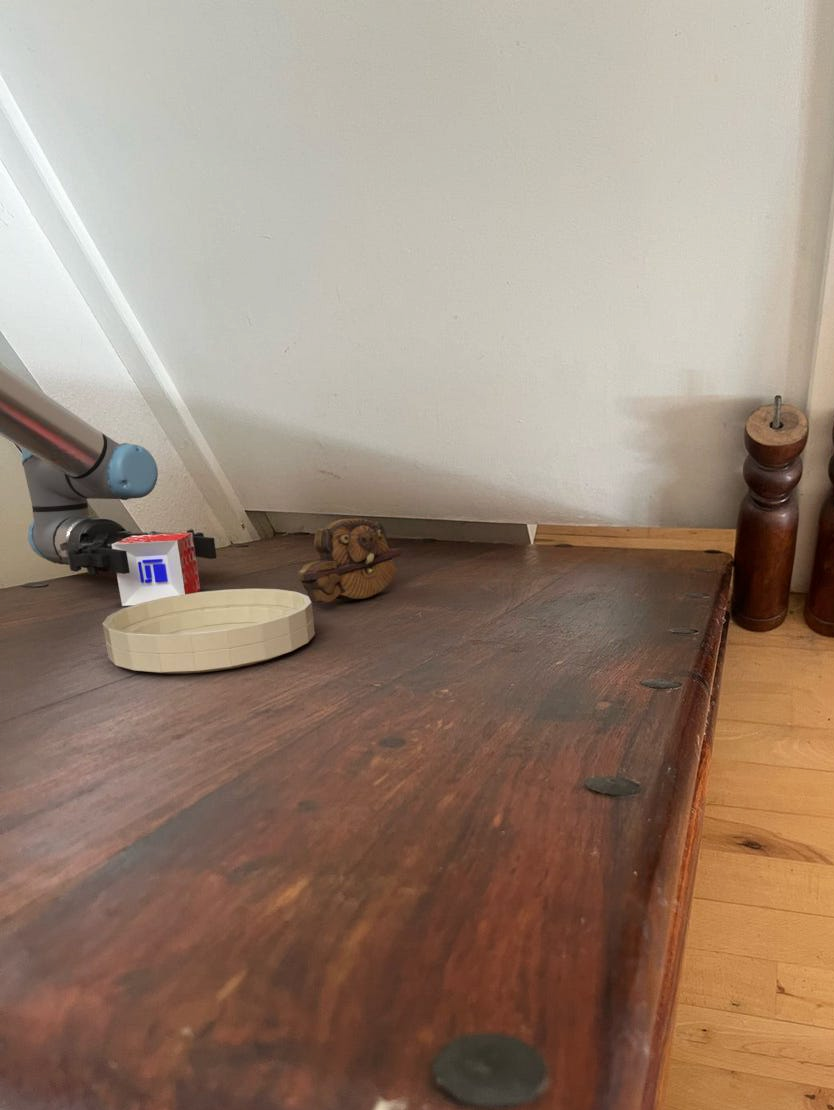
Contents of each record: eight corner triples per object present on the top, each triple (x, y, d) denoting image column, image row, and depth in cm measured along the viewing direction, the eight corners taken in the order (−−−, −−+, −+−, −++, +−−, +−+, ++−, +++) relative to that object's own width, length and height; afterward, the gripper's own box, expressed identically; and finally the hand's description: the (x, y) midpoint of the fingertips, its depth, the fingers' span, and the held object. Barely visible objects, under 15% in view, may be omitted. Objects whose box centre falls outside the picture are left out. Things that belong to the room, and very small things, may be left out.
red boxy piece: (200, 589, 106) (192, 532, 104) (186, 602, 99) (177, 540, 97) (140, 593, 105) (130, 535, 103) (121, 606, 98) (110, 544, 96)
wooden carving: (328, 616, 88) (320, 528, 85) (298, 613, 90) (289, 527, 87) (411, 588, 101) (406, 511, 99) (383, 585, 104) (377, 511, 101)
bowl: (71, 682, 68) (62, 638, 67) (160, 627, 86) (154, 592, 85) (288, 674, 67) (283, 630, 66) (330, 620, 86) (327, 585, 85)
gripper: (174, 557, 121) (254, 569, 108) (11, 583, 104) (81, 601, 90) (167, 509, 119) (247, 515, 106) (-1, 527, 102) (69, 537, 88)
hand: (170, 555), depth 98 cm, fingers closed on red boxy piece, 11 cm apart
